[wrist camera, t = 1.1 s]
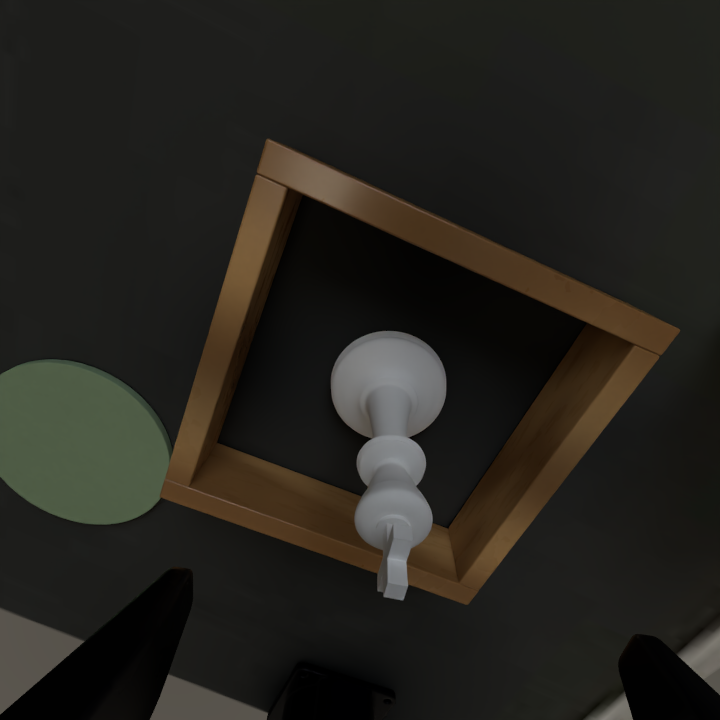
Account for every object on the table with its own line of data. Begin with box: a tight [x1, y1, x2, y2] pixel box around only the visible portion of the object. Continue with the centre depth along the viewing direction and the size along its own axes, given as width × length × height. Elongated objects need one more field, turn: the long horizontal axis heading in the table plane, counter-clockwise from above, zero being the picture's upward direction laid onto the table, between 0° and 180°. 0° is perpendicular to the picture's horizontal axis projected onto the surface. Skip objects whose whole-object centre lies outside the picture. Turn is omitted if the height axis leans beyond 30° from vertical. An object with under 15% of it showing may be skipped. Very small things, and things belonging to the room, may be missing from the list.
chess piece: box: [331, 331, 446, 600], centre depth 14 cm, size 5×5×10 cm
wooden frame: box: [160, 139, 680, 605], centre depth 17 cm, size 14×14×3 cm
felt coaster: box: [0, 359, 173, 525], centre depth 20 cm, size 9×9×1 cm
